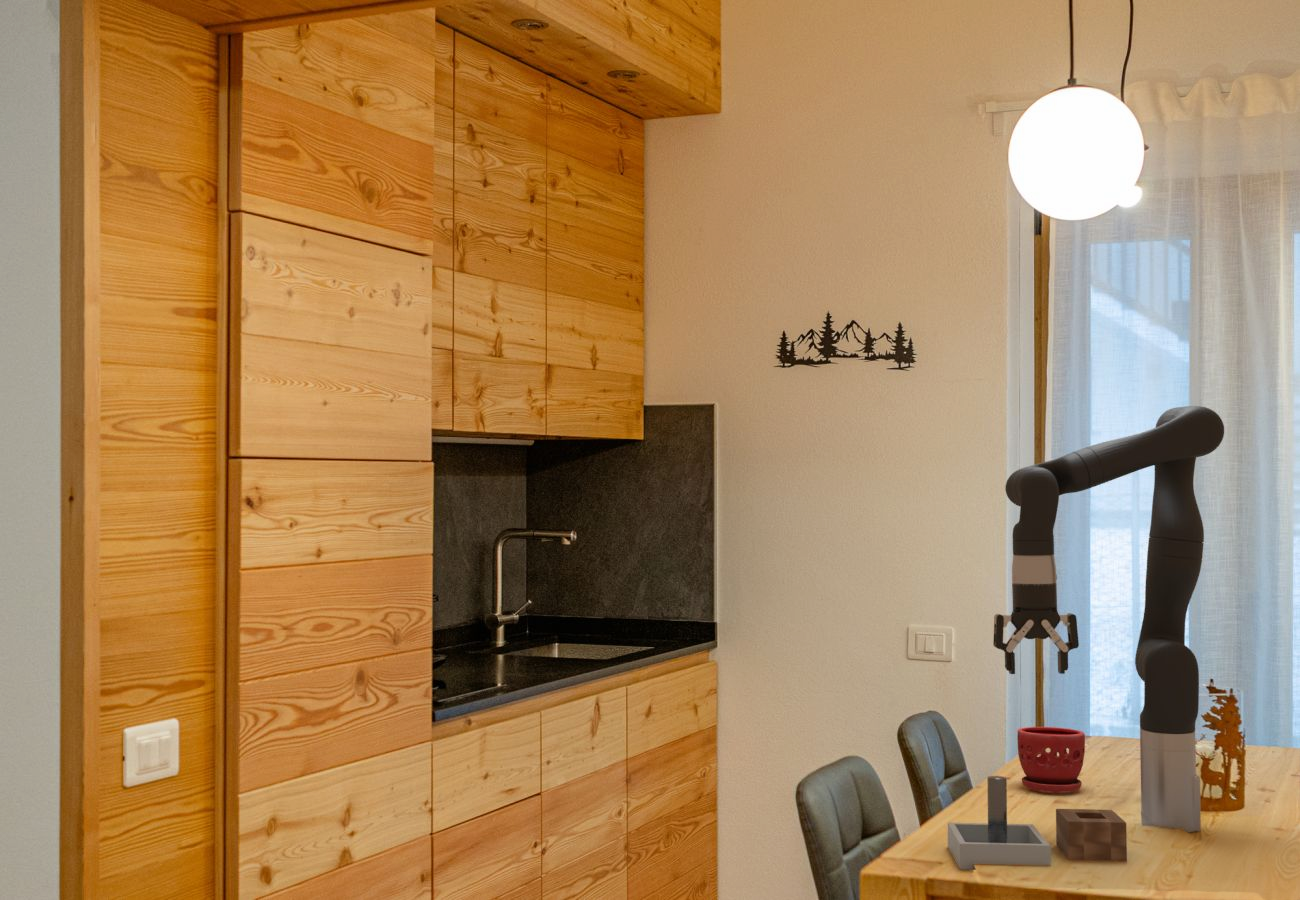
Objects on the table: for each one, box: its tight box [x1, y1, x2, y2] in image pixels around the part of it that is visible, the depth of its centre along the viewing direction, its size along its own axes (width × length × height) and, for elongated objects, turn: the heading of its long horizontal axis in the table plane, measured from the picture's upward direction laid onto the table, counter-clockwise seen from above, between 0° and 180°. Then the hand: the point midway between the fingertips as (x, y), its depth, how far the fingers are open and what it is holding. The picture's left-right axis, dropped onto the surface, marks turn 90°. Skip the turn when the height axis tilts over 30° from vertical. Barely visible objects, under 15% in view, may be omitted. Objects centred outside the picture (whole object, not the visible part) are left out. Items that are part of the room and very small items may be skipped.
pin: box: [987, 775, 1008, 843], centre depth 216 cm, size 3×3×12 cm
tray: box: [947, 822, 1052, 871], centre depth 215 cm, size 14×14×4 cm
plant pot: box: [1016, 726, 1086, 795], centre depth 269 cm, size 13×13×12 cm
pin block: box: [1055, 808, 1128, 862], centre depth 215 cm, size 9×9×7 cm
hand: (1036, 673), depth 233 cm, fingers open, 8 cm apart
